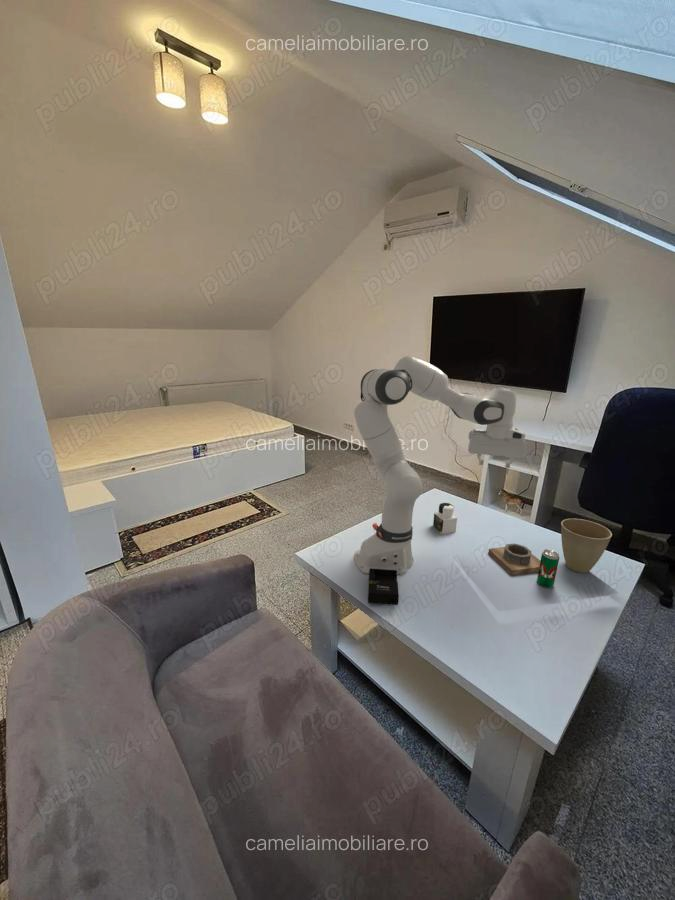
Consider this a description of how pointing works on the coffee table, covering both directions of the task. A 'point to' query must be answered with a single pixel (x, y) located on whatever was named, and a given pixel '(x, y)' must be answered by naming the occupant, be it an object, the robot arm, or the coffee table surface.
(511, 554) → the socket block
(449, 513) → the white boxy device
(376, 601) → the battery charger
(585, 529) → the plant pot
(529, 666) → the coffee table surface
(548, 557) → the soda can
